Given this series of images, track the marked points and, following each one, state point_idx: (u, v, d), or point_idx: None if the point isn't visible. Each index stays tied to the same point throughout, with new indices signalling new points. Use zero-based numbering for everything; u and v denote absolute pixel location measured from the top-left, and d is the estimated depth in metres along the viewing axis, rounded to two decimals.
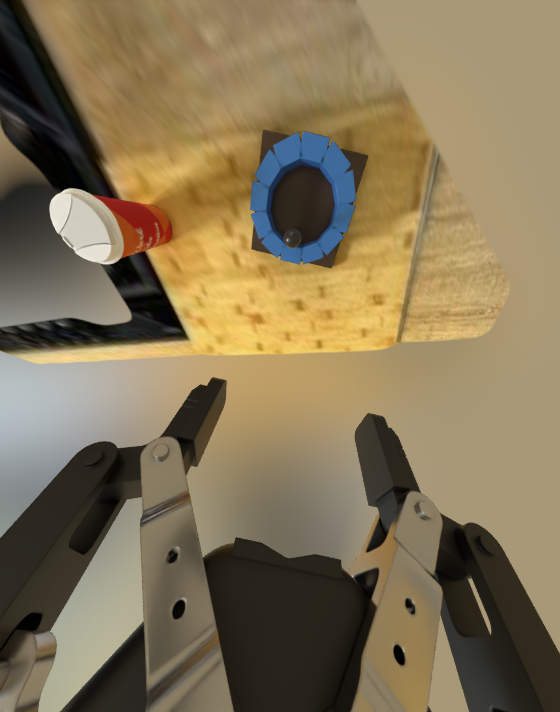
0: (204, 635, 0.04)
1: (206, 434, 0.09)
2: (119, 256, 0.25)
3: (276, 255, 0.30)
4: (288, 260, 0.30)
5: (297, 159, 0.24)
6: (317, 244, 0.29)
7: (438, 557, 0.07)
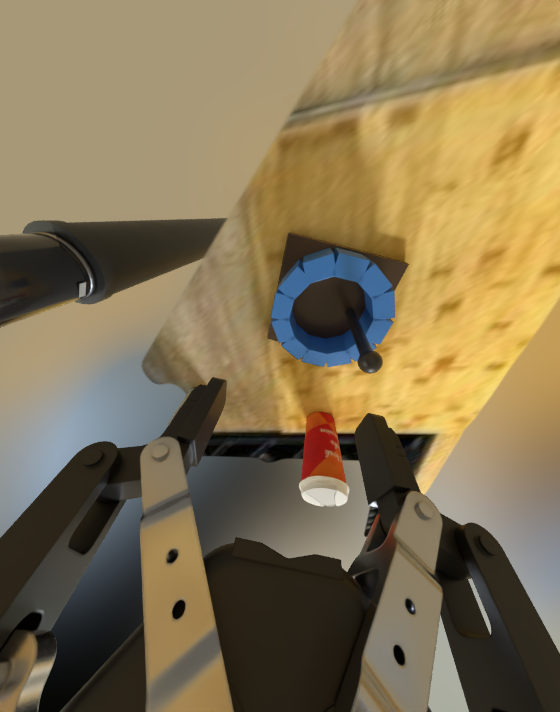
0: (204, 634, 0.04)
1: (206, 434, 0.09)
2: (345, 485, 0.29)
3: (373, 348, 0.25)
4: (383, 335, 0.23)
5: (289, 322, 0.24)
6: (374, 299, 0.21)
7: (438, 557, 0.07)
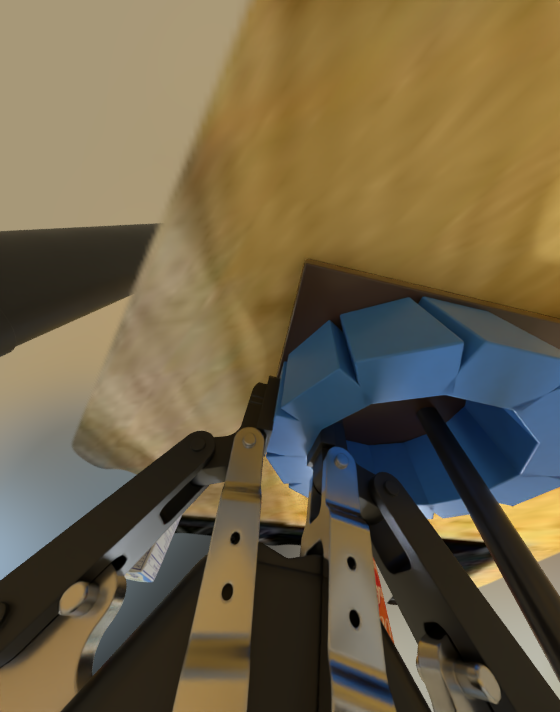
0: (239, 636, 0.04)
1: None
2: None
3: None
4: (531, 496, 0.10)
5: None
6: (545, 445, 0.08)
7: None
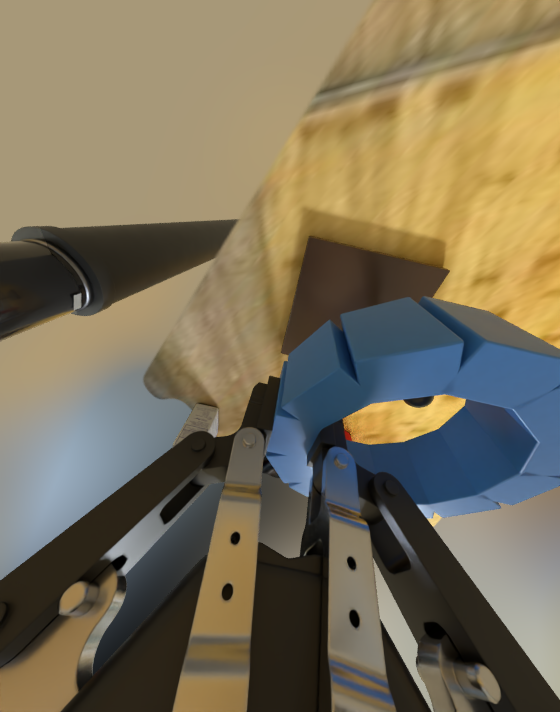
0: (239, 636, 0.04)
1: None
2: None
3: (494, 508, 0.11)
4: (531, 496, 0.10)
5: None
6: (545, 444, 0.08)
7: None
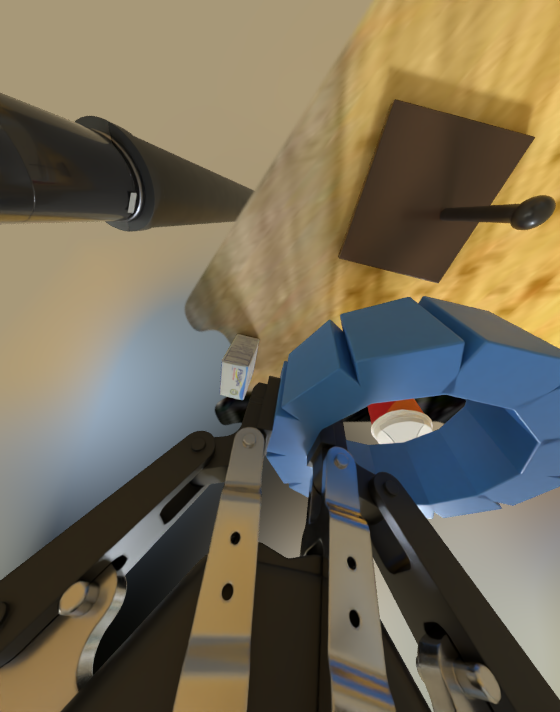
0: (239, 635, 0.04)
1: None
2: (430, 420, 0.26)
3: (494, 508, 0.11)
4: (532, 496, 0.10)
5: None
6: (546, 444, 0.08)
7: None
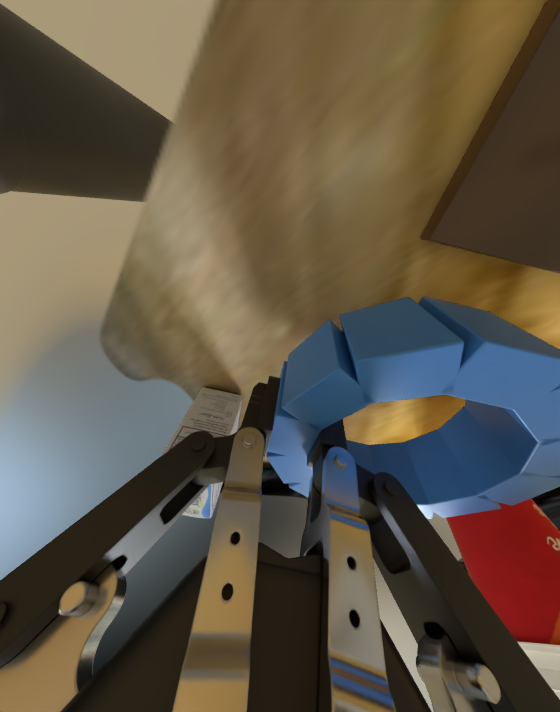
0: (239, 636, 0.04)
1: None
2: None
3: (494, 508, 0.11)
4: (531, 496, 0.10)
5: None
6: (545, 444, 0.08)
7: None
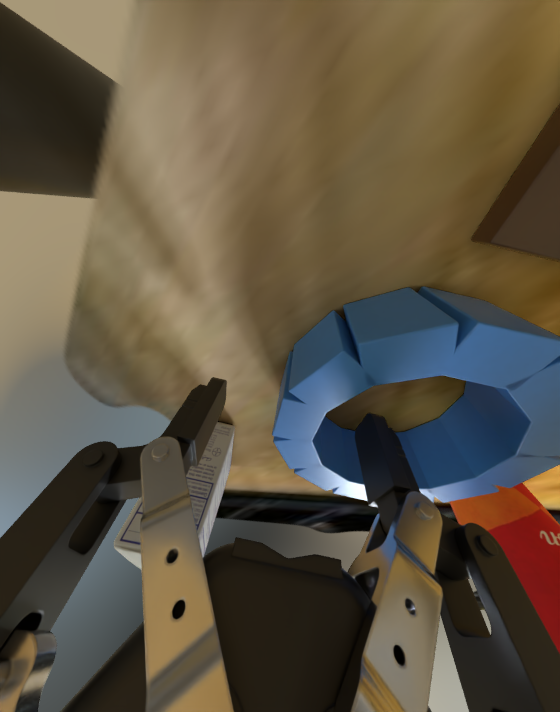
0: (204, 635, 0.04)
1: (206, 434, 0.09)
2: None
3: (492, 491, 0.12)
4: (527, 478, 0.10)
5: None
6: (538, 424, 0.08)
7: (438, 557, 0.07)
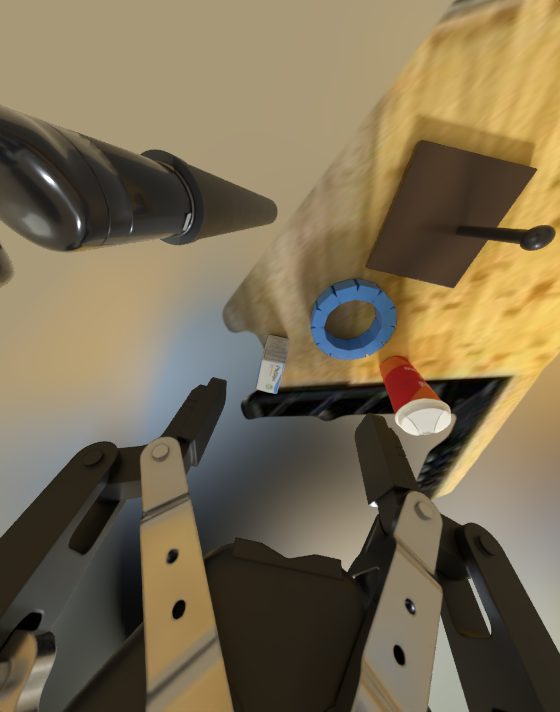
0: (204, 634, 0.04)
1: (206, 434, 0.09)
2: (448, 408, 0.30)
3: (382, 346, 0.35)
4: (389, 337, 0.34)
5: (323, 329, 0.35)
6: (383, 313, 0.32)
7: (438, 557, 0.07)
